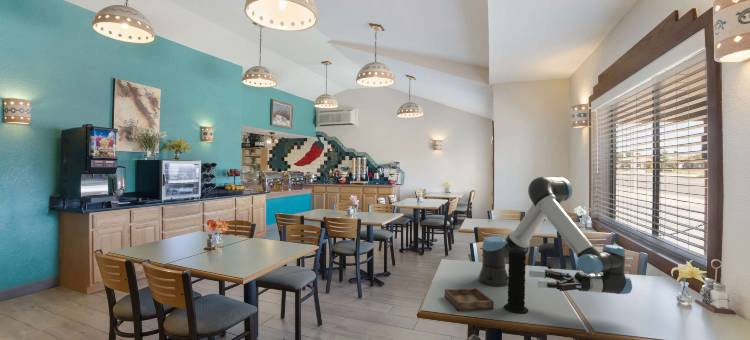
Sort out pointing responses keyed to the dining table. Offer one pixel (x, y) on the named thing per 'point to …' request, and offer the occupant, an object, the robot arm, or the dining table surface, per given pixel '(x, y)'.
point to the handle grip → (516, 282)
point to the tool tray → (468, 299)
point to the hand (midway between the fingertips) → (533, 278)
